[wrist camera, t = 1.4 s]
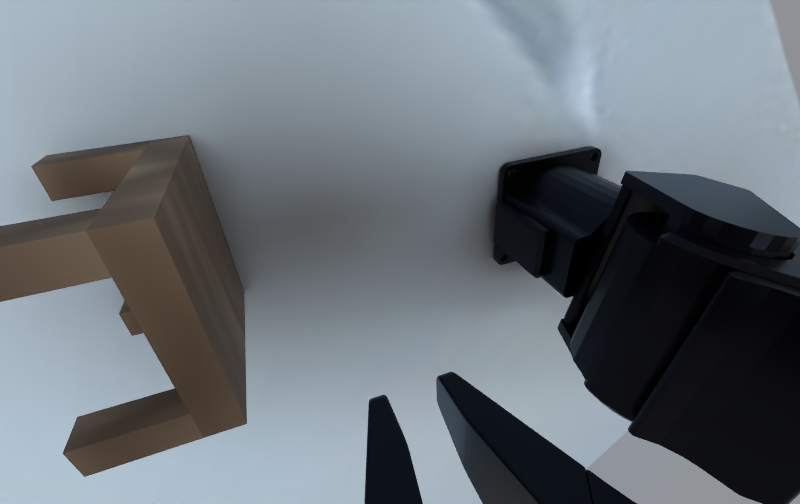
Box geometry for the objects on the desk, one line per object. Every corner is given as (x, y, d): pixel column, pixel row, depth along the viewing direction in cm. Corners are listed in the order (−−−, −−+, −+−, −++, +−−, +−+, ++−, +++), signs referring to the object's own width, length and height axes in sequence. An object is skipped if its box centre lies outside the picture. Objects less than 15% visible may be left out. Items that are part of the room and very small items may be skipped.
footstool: (188, 135, 16) (153, 218, 9) (244, 291, 20) (246, 423, 13) (46, 155, 14) (-112, 268, 8) (138, 317, 19) (84, 476, 12)
